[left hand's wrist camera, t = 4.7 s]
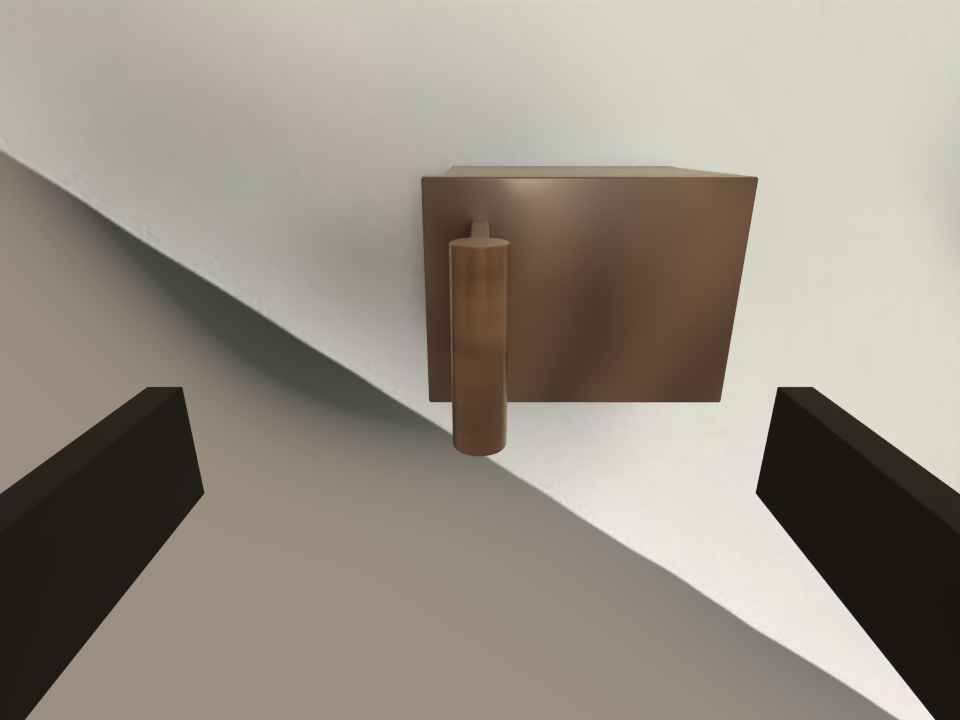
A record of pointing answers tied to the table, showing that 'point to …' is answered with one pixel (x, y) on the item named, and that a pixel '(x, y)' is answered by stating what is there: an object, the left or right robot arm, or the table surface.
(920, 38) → the table surface
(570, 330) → the lid
